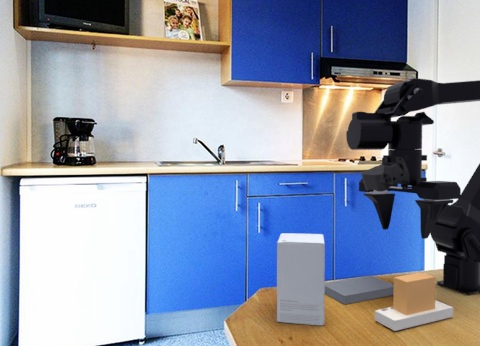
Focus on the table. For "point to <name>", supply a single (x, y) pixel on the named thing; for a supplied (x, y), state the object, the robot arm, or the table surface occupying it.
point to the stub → (413, 303)
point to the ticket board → (358, 289)
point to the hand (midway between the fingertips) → (403, 233)
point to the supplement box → (301, 278)
